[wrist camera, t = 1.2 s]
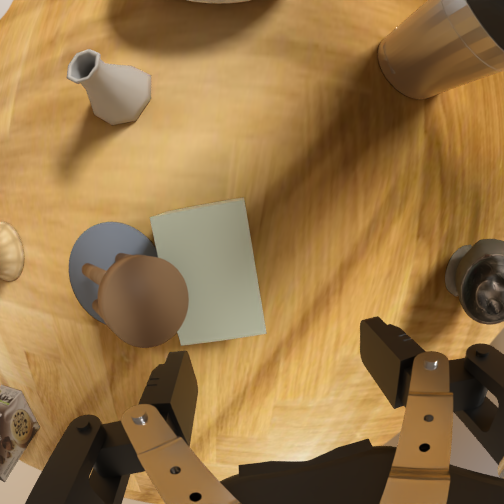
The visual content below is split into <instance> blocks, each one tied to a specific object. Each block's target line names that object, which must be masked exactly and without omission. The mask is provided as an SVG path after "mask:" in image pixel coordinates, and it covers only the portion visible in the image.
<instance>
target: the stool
mask: <svg viewBox="0 0 504 504" xmlns="http://www.w3.org/2000/svg"><path fill="white" fill-rule="evenodd" d="M82 273H83V275H85V276H86V277H87V278H89V279H90V280H92V281H93V282H95V283H96V284H98V285H99V289H98V299H96V300H94V301H93V303H92V308H93V309H94V310H95V312H96V313H97V314H98V315H99V316H100V317H101V318H102V319H103V320H104V322H105V323H106V325H107V326H108V327H109V328H110V329H111V330H112V331H113V332H114V333H115V334H116V335H117V336H118V337H119V338H120V339H121V340H123V341H124V342H126V343H128V344H130V345H132V346H135V347H140V348H149V347H154V346H158V345H160V344H163V343H164V342H166V341H168V340H169V339H170V338H172V337H173V336H174V335H175V334H176V333H177V331H178V330H179V329H180V327H181V326H182V324H183V322H184V320H185V317H186V314H187V311H188V304H189V296H188V289H187V285H186V282H185V280H184V278H183V276H182V275H181V273H180V272H179V270H178V269H177V268H176V267H175V266H174V265H172V264H171V263H170V262H168V261H166V260H164V259H161V258H157V257H152V256H146V255H130V254H124V253H118V254H117V255H116V257H115V263H114V264H112V265H111V266H110V267H109V268H108V270H107V271H106V270H103V269H101V268H99V267H97V266H94V265H92V264H90V263H86V264H84V265H83V266H82Z"/></svg>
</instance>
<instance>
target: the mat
mask: <svg viewBox="0 0 504 504" xmlns="http://www.w3.org/2000/svg"><path fill="white" fill-rule="evenodd" d="M118 253H124V254H130V255H146V256H152V257H157V258H158V254H157V250H156V248H155V246H154V245H153V244H152V242H151V241H150V240H149V239H148V238H147V237H146V236H145V235H144V234H142V233H141V232H140V231H138V230H137V229H135V228H133V227H131V226H129V225H126V224H123V223H118V222H105V223H100V224H97V225H94V226H93V227H91V228H89V229H88V230H86V231H85V232H84V233H83V234H82V235H81V236H80V237H79V238H78V240H77V241H76V243H75V244H74V246H73V249H72V251H71V255H70V260H69V277H70V282H71V286H72V288H73V291H74V293H75V296H76V298H77V299H78V301H79V302H80V304H81V305H82V306H83V308H84V309H85V310H86V311H87V312H88V313H89V314H90V315H91V316H93V317H94V318H95V319H97V320H98V321H100V322H102V323H104V324H106V323H105V322H104V320H103V319H102V318H101V317H100V316H99V315H98V314H97V313H96V312H95V310H94V309H93V308H92V303H93V301H94V300H96V299H98V289H99V285H98V284H96V283H95V282H93V281H92V280H90V279H89V278H87V277H86V276H85V275H83V273H82V266H83V265H84V264H86V263H90V264H92V265H94V266H97V267H99V268H101V269H103V270H106V271H107V270H108V268H109V267H110V266H111V265H112V264H114V263H115V257H116V255H117V254H118Z"/></svg>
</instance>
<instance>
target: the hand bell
mask: <svg viewBox="0 0 504 504" xmlns="http://www.w3.org/2000/svg"><path fill="white" fill-rule="evenodd" d="M23 266H24V250H23V245H22V242H21V239H20V237H19V235H18V233H17V231H16V230H15V229H14V227H13V226H11V225H10V224H9V223H6V222H0V278H1V279H3V280H6V281H13V280H15V279H17V278H18V277H19V276H20V274H21V272H22V270H23Z"/></svg>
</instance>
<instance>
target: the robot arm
mask: <svg viewBox="0 0 504 504" xmlns="http://www.w3.org/2000/svg"><path fill="white" fill-rule="evenodd" d="M378 60H379V64H380V67H381V70H382V72H383V73H384V75H385V77H386V78H387V79H388V81H389V82H390V83H391V84H392V85H393V86H394V87H395V88H396V89H397V90H398V91H400V92H401V93H402V94H404V95H406V96H408V97H410V98H414V99H421V100H422V99H427V98H430V97H432V96H435V95H437V94H440V93H442V92H445V91H448V90H450V89H453V88H456V87H458V86H461V85H464V84H467V83H469V82H472V81H475V80H478V79H480V78H483V77H486V76H489V75H492V74H495V73H498V72H501V71H504V0H428V1H427V2H425V3H424V4H423V5H422V6H421V7H420V8H418V9H417V10H416V11H415V12H414V13H413V14H411V15H410V16H409V17H408V18H407V19H406V20H405V21H403V22H402V23H401V24H400V25H399V26H398V27H397V28H395V29H394V30H393V31H392V32H391V33H390V34H389V35H388V36H387V37H386V38H384V39H383V40H382V42H381V43H380V45H379V48H378ZM360 354H361V359H362V362H363V364H364V366H365V367H366V368H367V370H368V371H369V373H370V374H371V376H372V377H373V379H374V380H375V382H376V383H377V384H378V386H379V387H380V389H381V390H382V392H383V393H384V395H385V396H386V398H387V399H388V401H389V402H390V404H391V405H392V407H393V408H394V409H396V408H398V407H401V406H405V408H406V410H405V415H404V420H403V424H402V429H401V433H400V438H399V441H398V445H397V447H392V446H373V447H372V445H371V443H370V441H369V439H366V440H362V441H359V442H356V443H352V444H349V445H345V446H342V447H338V448H336V449H334V450H332V451H329V452H327V453H325V454H323V455H321V456H318V457H316V458H314V459H311V460H309V461H302V462H287V461H269V462H262V463H254V464H245V465H239V474H237V475H234V476H231V477H229V478H226V479H224V480H222V481H220V482H219V481H218V480H217V478H216V477H215V476H214V475H213V474H212V473H211V472H210V471H209V470H208V469H207V467H206V466H205V465H204V464H203V463H202V462H201V461H200V459H199V458H198V457H197V456H196V455H195V453H194V452H193V451H192V450H191V449H190V440H191V433H192V427H193V421H194V414H195V408H196V402H197V396H198V386H197V380H196V377H195V374H194V371H193V367H192V364H191V361H190V357H189V354H188V352H187V351H178V352H170V353H169V354H168V357H167V359H166V362H165V364H159V365H158V366H157V367H156V368H155V369H154V370H153V371H152V373H151V375H150V377H149V380H148V382H147V386H146V387H145V389H144V392H143V394H142V397H141V399H140V402H139V404H138V405H136V406H133V407H131V408H129V409H127V410H126V411H125V412H124V413H123V415H122V417H121V421H118V422H113V423H108V424H102V423H101V421H100V419H99V418H98V417H96V416H94V415H83V416H80V417H78V418H76V419H74V420H73V421H72V422H71V423H70V424H69V426H68V428H67V429H66V431H65V433H64V434H63V436H62V438H61V439H60V441H59V443H58V444H57V446H56V448H55V450H54V451H53V453H52V455H51V457H50V458H49V460H48V462H47V464H46V465H45V467H44V469H43V471H42V473H41V474H40V476H39V478H38V480H37V482H36V484H35V485H34V487H33V489H32V491H31V493H30V495H29V497H28V499H27V501H26V503H25V504H122V500H123V497H124V494H125V490H126V487H127V484H128V480H129V477H130V474H133V473H138V472H143V471H146V473H147V475H148V476H149V478H150V480H151V481H152V483H153V485H154V486H155V488H156V490H157V491H158V493H159V494H160V496H161V498H162V499H163V501H164V502H165V504H504V354H502V353H501V352H499V351H498V350H496V349H495V348H494V347H492V346H490V345H487V344H475V345H472V346H470V347H469V348H468V349H467V351H466V356H465V358H462V359H456V360H448V358H447V357H446V356H445V355H444V354H442V353H439V352H433V351H429V352H425V351H424V350H423V349H422V348H421V347H420V346H419V345H418V344H417V343H416V342H415V341H414V340H413V339H411V338H410V337H409V336H408V335H406V333H405V332H404V331H403V330H402V329H401V328H399V327H396V326H394V325H391V324H389V325H387V324H386V323H385V322H383V321H382V320H381V319H380V318H379V317H378V316H377V317H373V318H369V319H365V320H362V321H361V323H360ZM488 390H489V391H490V392H491V393H492V394H493V395H494V396H495V397H496V398H497V400H498V403H499V407H498V408H497V406H496V405H494V404H493V403H492V402H491V401H490V400H489V399H488V398H487V397H486V393H487V391H488ZM453 412H454V413H455V414H456V415H457V416H458V417H459V419H460V420H461V421H462V422H463V423H464V424H465V425H466V427H468V429H469V430H470V431H471V432H472V434H473V435H474V436H475V437H476V438H477V440H478V441H479V442H480V443H481V444H482V445H483V447H484V448H485V449H486V450H487V452H488V453H489V454H490V455H491V457H492V458H493V459H494V460H495V461H496V463H497V464H498V475H499V477H500V478H499V477H494V476H490V475H486V474H482V473H478V472H474V471H471V470H467V469H463V468H460V467H457V466H453V465H450V454H451V443H452V427H453V426H452V425H453ZM92 468H93V471H92V473H91V470H92ZM90 473H91V475H90ZM89 475H90V478H89Z"/></svg>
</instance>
